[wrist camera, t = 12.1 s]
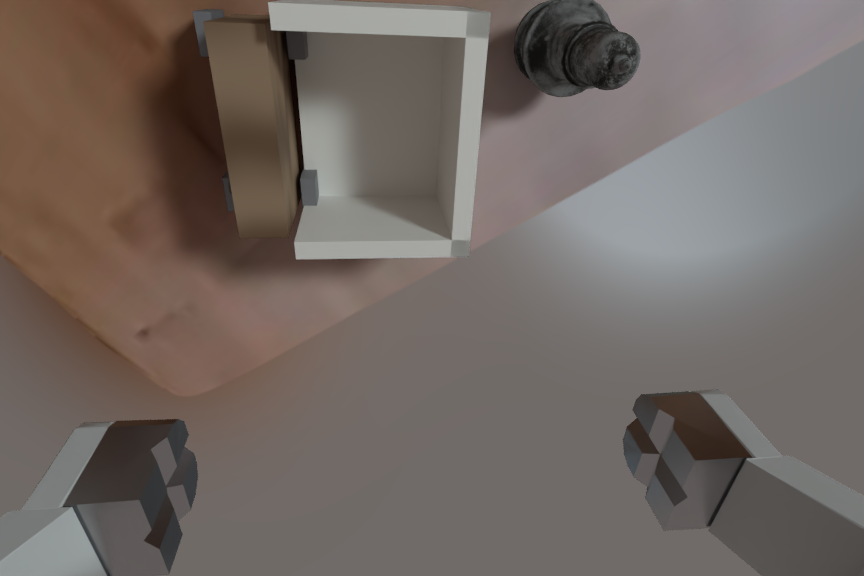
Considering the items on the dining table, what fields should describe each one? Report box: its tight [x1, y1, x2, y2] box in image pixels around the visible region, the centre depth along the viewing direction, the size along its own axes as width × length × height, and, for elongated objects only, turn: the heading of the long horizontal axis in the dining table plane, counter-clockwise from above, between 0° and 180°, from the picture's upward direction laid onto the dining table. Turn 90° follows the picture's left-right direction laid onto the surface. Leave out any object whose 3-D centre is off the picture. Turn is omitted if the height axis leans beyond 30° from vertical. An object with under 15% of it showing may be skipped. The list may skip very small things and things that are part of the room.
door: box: [203, 14, 302, 238], centre depth 32 cm, size 12×4×8 cm, turn 178°
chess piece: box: [514, 0, 640, 97], centre depth 30 cm, size 6×6×12 cm
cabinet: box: [193, 0, 491, 259], centre depth 32 cm, size 14×16×9 cm
